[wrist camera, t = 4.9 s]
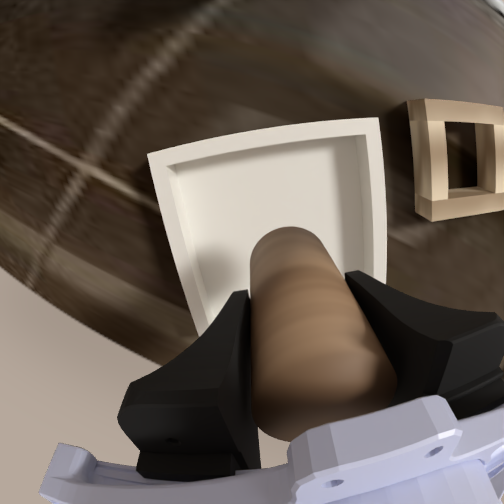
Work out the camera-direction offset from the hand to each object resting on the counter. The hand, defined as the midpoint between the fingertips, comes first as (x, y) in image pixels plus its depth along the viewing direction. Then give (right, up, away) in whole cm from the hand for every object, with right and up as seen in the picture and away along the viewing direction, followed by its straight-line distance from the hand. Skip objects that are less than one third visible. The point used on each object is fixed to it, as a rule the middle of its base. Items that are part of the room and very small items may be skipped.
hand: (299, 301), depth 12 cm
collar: (+14, +10, +6) cm, 18 cm away
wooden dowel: (0, +1, +3) cm, 3 cm away
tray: (0, +4, +9) cm, 9 cm away
